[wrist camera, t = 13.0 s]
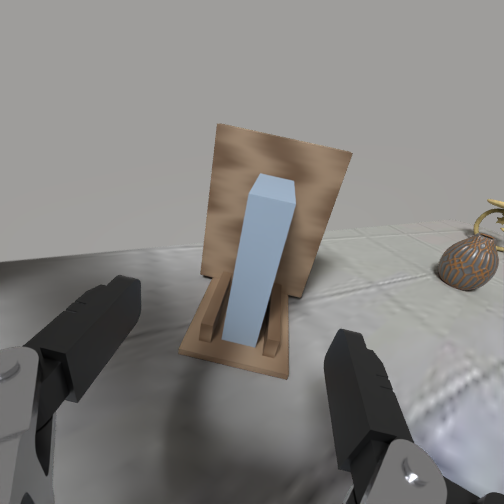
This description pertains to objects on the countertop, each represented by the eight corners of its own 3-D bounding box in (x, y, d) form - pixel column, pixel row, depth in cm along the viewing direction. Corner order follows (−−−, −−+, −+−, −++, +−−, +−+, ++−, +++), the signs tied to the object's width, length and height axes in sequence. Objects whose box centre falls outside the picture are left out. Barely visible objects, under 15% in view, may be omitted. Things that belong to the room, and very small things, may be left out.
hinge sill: (160, 349, 20) (165, 124, 13) (203, 271, 31) (221, 123, 23) (304, 384, 20) (401, 177, 12) (298, 293, 31) (348, 151, 23)
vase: (429, 280, 41) (461, 232, 37) (431, 266, 46) (459, 223, 42) (480, 302, 38) (521, 252, 34) (476, 284, 43) (511, 239, 39)
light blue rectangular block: (221, 339, 22) (248, 193, 16) (236, 291, 28) (260, 173, 22) (255, 347, 22) (296, 204, 16) (262, 297, 28) (294, 180, 22)
